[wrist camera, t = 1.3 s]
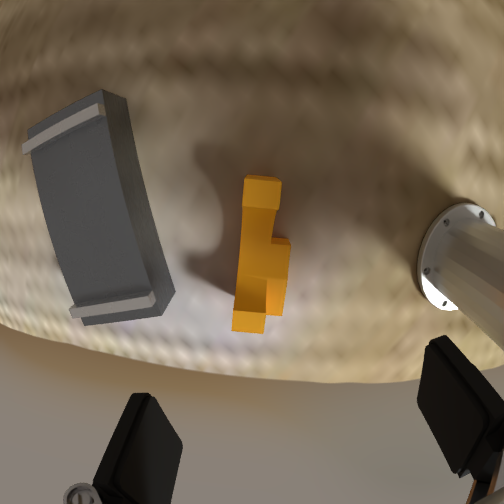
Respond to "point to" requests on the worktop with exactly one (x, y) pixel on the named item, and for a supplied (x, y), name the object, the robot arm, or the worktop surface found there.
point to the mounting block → (99, 211)
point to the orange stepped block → (260, 257)
